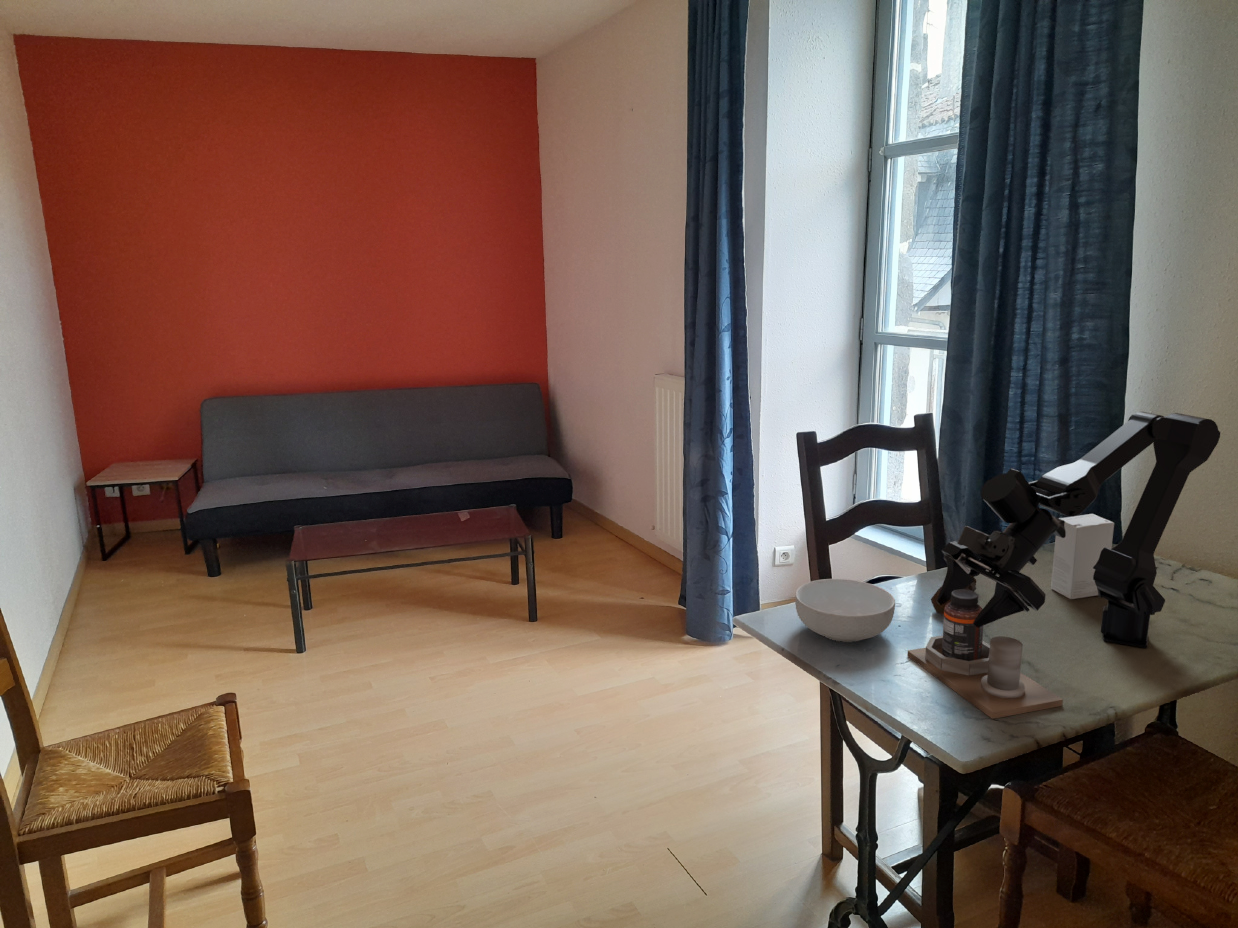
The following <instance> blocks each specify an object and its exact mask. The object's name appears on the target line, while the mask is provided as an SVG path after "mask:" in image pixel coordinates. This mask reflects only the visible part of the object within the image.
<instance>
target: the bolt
mask: <svg viewBox="0 0 1238 928" xmlns="http://www.w3.org/2000/svg"><path fill="white" fill-rule="evenodd" d="M970 577H971V576H970ZM971 578H972V579H973V580H974V582H973V583H972V584H970V585H969V586H968V587H966V588H965V590H971V591H974V592H976V590H977V579H976V578H975V577H971ZM941 588H942V585H941V586H940V587H939V588H938V589H937V591H936V592H935V593H934V594H933V596H932V597H931V598H930V601H931V604H932V607H933V609H934V610H935V612H936V613H937V614H940V615H943V616H944V609H945V606H946V605H947V604H948V603H950V602H951V599H950V600H949V601H948V602H946V603H944V604H943V605H940V604H938V603H937V598H938V595H939V593H940V590H941Z"/></svg>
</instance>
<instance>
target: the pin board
mask: <svg viewBox="0 0 1238 928" xmlns="http://www.w3.org/2000/svg"><path fill="white" fill-rule="evenodd" d="M942 644H943V634H942V635H935V636H931V637H930V638H929V640H928V642H927V644H926V646H925V647H921V648H914V649H910V650H907V655H906V656H907V657H908V658H910V660H912V662H913V661H914V662H915V663H916V664H918V665H919V666H920V667H921V668H923V669H924V670H925V671H927V672H928V673H929V674H931V675H933V677H935V678H937V679H938V681H941V682H942V683H943V684H944V685H946V686H947V687H949V688H950V689H951V690H953V691H954V692H955V693H957V694H958V695H959V696H961V697H962V698H963V699H965V700H966V701H967V702H969V703H970V704H972V705H973V706H974V707H975V708H977V709H978V710H980V711H981V712H982V713H984V714H985V715H986V716H987V717H989V718H991V720H992V719H993V720H994V719H998V718H1004V717H1009V716H1015V715H1019V714H1021V715H1022V714H1025V713H1031V712H1035V711H1042V710H1046V709H1051V708H1052V709H1053V708H1057V707H1063V703H1064V699H1063V698H1061V697H1060V696H1059V695H1057V694H1055V693H1054V692H1052V691H1050V689H1047V688H1046V687H1044V686H1043V685H1042V684H1040V683H1038V682H1036V681H1035V680H1033V679H1031V678H1030V677H1029V676H1027V675H1025V674H1023V673H1022V671H1021V668H1022V667H1021V666H1022V658H1023V657H1022V655H1023V647H1024V645H1023V643H1022V642H1021V641H1020V640H1019V639H1016V638H1013V637H1009V636H1001V635H1000V636H999V635H998V636H994V637H992V638H990V641H989V643H987V642H986V641H984V640H982V656H981V659H979V660H973V661H965V660H960V659H955V658H949V657H945V656H943V655H942Z"/></svg>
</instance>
